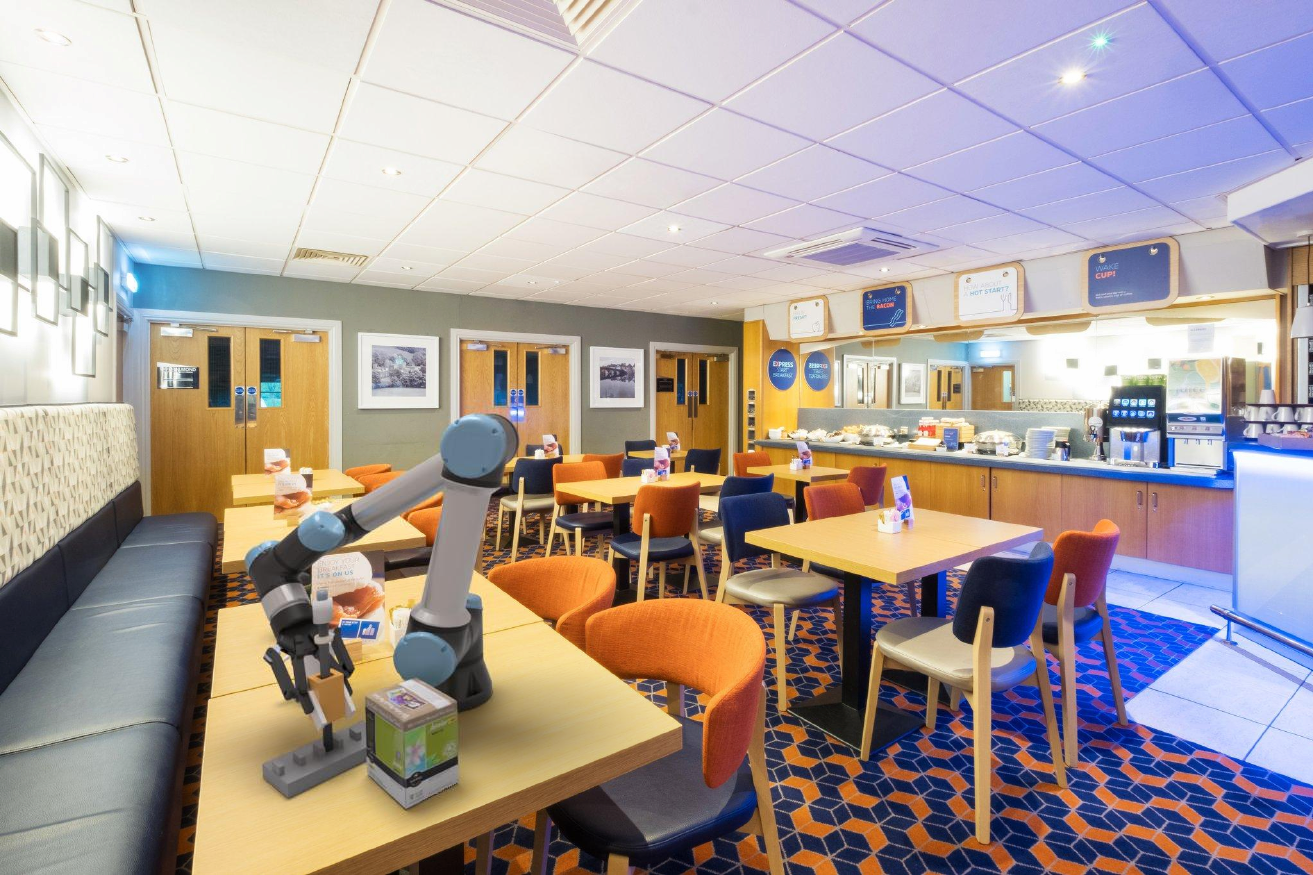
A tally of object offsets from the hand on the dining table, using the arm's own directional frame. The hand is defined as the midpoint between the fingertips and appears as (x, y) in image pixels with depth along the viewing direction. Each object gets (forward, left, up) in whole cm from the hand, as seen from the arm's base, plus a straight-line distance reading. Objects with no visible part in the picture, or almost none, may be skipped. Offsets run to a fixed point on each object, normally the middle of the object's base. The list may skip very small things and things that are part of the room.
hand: (337, 720), depth 109 cm
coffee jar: (+42, -67, -9) cm, 80 cm away
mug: (+20, -29, -9) cm, 37 cm away
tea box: (-14, +4, -9) cm, 17 cm away
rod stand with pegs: (+3, -2, -9) cm, 10 cm away
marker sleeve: (+3, -2, -1) cm, 4 cm away
